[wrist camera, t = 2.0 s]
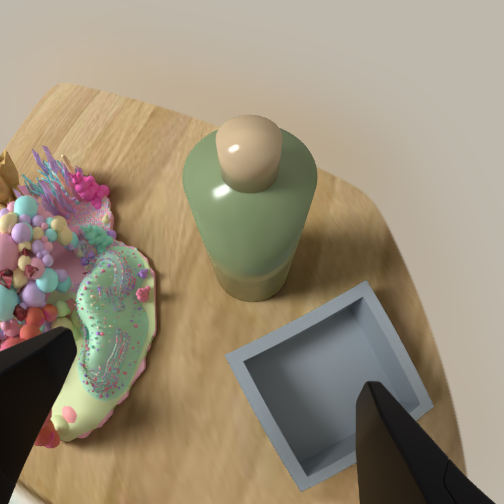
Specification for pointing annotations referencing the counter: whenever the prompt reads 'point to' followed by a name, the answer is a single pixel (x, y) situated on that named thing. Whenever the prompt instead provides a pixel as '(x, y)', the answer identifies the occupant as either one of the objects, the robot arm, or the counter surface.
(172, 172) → the counter surface
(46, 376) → the robot arm
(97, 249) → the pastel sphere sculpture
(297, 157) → the bottle
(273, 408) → the tub
